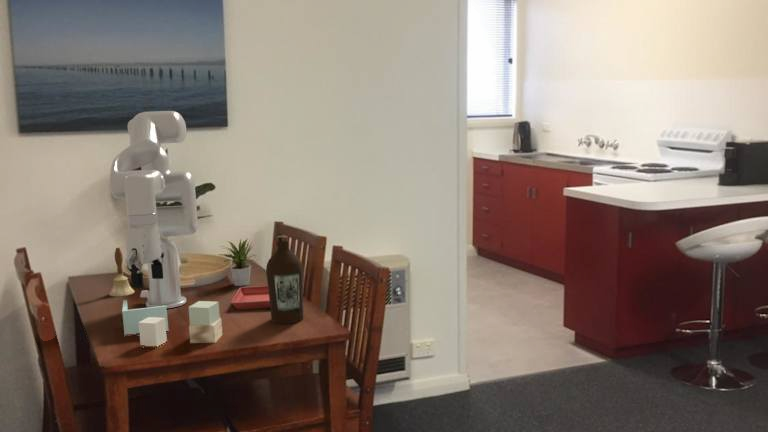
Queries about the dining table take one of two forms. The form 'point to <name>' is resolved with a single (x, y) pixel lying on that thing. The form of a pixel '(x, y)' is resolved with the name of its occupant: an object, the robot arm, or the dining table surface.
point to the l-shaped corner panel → (141, 317)
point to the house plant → (239, 263)
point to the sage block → (204, 313)
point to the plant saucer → (252, 298)
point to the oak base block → (205, 332)
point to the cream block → (152, 331)
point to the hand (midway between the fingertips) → (148, 282)
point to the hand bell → (120, 278)
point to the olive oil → (285, 284)
